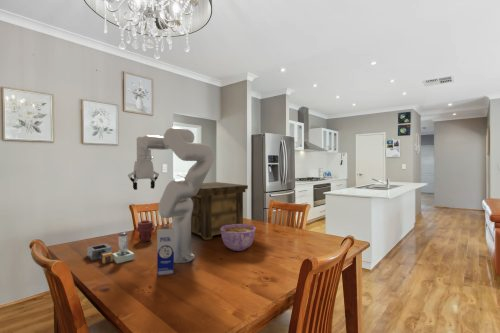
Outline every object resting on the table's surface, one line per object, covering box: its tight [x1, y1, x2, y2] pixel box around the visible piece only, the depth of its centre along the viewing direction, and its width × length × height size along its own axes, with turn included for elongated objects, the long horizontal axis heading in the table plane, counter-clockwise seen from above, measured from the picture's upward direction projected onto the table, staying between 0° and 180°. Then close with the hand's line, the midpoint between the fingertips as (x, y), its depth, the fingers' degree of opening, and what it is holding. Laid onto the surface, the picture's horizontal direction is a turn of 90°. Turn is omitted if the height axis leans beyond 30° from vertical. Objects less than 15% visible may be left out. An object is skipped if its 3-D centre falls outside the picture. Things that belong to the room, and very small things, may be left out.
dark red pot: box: [136, 219, 155, 243], centre depth 164 cm, size 12×10×10 cm
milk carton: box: [156, 226, 175, 277], centre depth 118 cm, size 7×7×20 cm
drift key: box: [99, 251, 113, 264], centre depth 132 cm, size 10×4×4 cm, turn 45°
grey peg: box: [118, 231, 129, 256], centre depth 133 cm, size 4×4×12 cm
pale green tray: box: [112, 249, 136, 264], centre depth 133 cm, size 8×8×3 cm
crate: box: [191, 181, 249, 241], centre depth 183 cm, size 35×35×33 cm
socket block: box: [86, 242, 113, 261], centre depth 138 cm, size 9×9×4 cm
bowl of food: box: [220, 223, 257, 252], centre depth 150 cm, size 20×20×12 cm
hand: (144, 189), depth 150 cm, fingers open, 9 cm apart
